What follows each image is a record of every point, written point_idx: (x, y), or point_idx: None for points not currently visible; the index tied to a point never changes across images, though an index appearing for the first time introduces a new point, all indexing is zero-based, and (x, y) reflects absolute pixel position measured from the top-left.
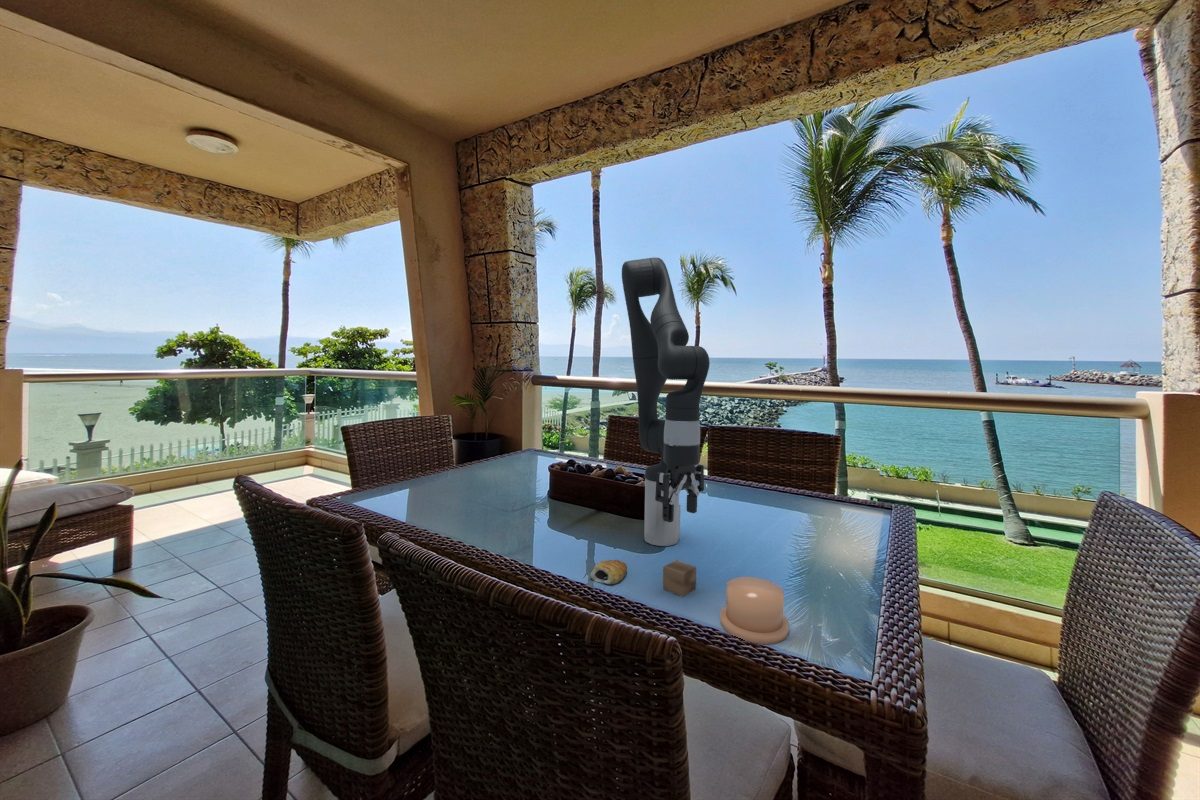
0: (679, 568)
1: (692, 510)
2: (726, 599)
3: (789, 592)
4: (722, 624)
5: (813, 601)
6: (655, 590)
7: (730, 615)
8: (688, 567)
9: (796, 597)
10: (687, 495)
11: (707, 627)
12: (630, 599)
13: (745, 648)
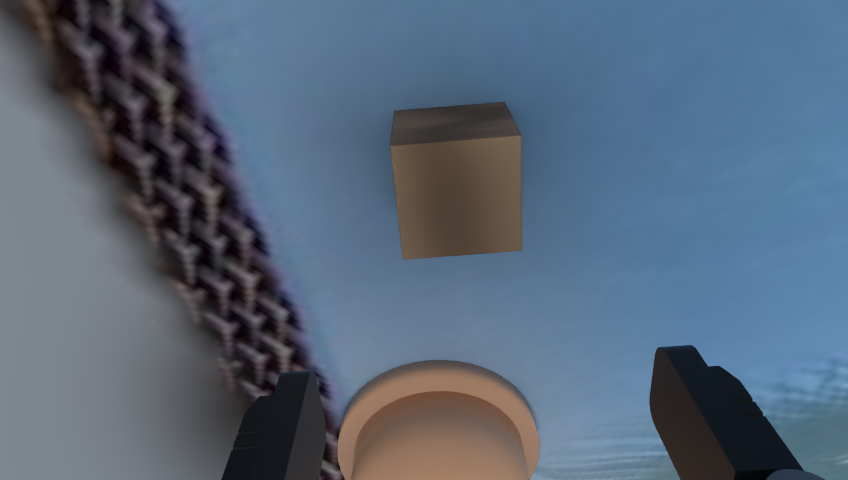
0: (441, 213)
1: (658, 409)
2: (384, 444)
3: None
4: (353, 401)
5: None
6: (355, 99)
7: (358, 446)
8: (485, 233)
9: None
10: (732, 475)
11: None
12: (201, 85)
13: None
